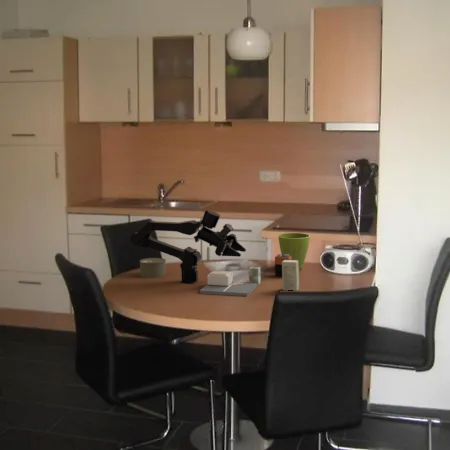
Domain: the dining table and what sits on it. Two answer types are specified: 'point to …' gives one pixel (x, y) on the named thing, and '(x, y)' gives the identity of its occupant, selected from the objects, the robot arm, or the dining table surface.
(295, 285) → the skincare box
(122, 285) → the dining table surface
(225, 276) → the cover
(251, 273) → the peg
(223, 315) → the dining table surface
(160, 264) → the can
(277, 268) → the battery
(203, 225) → the robot arm
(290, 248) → the flower pot
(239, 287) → the board
